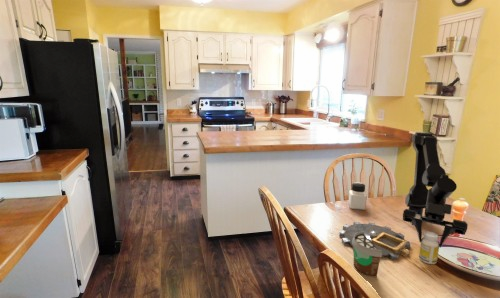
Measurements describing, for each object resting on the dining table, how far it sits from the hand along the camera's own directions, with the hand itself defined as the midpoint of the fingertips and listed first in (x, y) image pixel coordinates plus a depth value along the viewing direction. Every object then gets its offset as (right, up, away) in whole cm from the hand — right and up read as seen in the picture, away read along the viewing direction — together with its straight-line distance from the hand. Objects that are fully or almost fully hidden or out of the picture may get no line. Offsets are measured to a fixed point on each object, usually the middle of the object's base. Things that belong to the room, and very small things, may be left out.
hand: (430, 244), depth 96 cm
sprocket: (-13, -3, +15) cm, 20 cm away
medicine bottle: (-8, +3, +46) cm, 47 cm away
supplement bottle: (+1, -6, +3) cm, 7 cm away
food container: (-24, -7, -2) cm, 25 cm away
